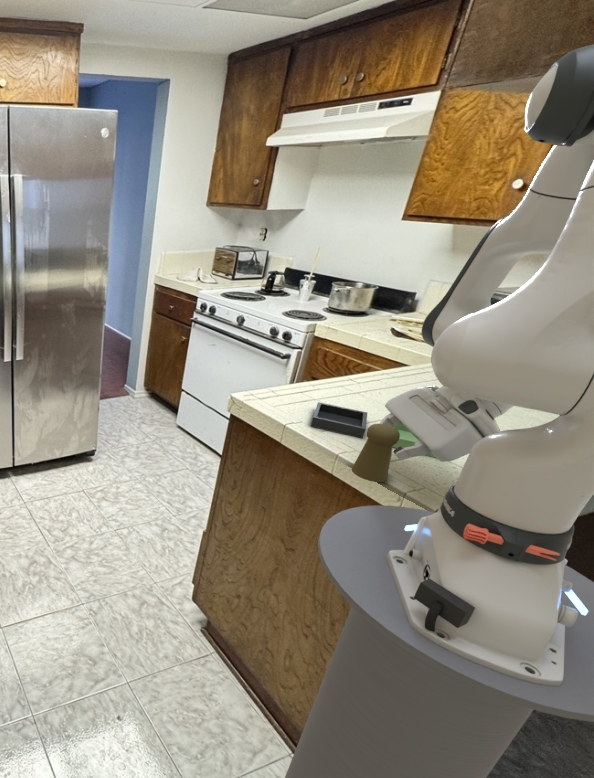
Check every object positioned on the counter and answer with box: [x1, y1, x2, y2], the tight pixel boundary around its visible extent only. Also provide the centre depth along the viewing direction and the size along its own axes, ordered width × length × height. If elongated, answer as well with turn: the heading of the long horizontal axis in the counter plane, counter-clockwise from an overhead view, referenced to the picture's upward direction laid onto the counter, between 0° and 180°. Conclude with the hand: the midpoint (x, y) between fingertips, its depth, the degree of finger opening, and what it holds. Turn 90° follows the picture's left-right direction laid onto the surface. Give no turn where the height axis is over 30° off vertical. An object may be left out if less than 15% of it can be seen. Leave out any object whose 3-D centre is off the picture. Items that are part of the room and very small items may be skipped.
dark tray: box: [310, 402, 368, 439], centre depth 116 cm, size 11×11×2 cm
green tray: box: [392, 423, 438, 459], centre depth 108 cm, size 11×11×2 cm
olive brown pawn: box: [351, 423, 400, 483], centre depth 94 cm, size 6×6×11 cm
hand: (385, 443), depth 94 cm, fingers open, 8 cm apart
